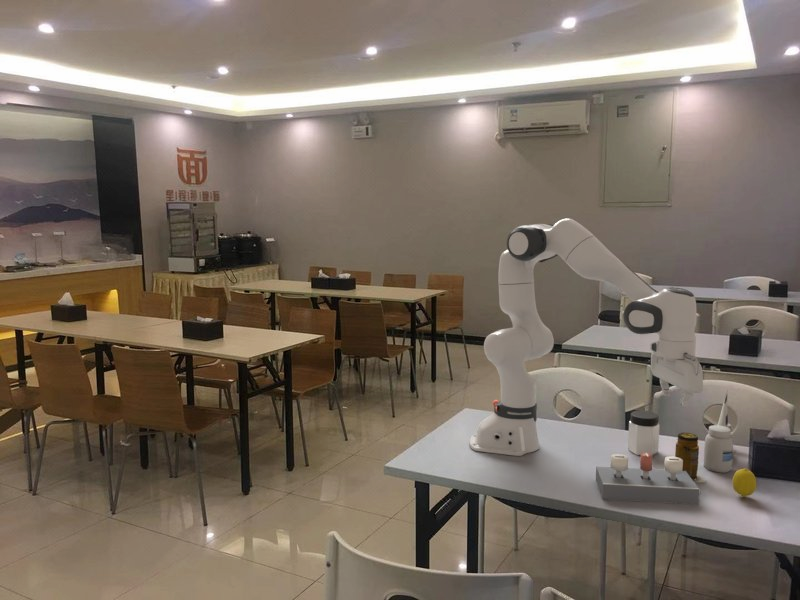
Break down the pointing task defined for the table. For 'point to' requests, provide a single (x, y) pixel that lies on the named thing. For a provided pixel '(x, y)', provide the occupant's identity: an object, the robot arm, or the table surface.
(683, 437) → the condiment
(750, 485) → the lemon
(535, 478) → the table surface
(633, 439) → the jar
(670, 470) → the knob
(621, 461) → the knob
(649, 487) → the mount
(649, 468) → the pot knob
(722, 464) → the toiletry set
